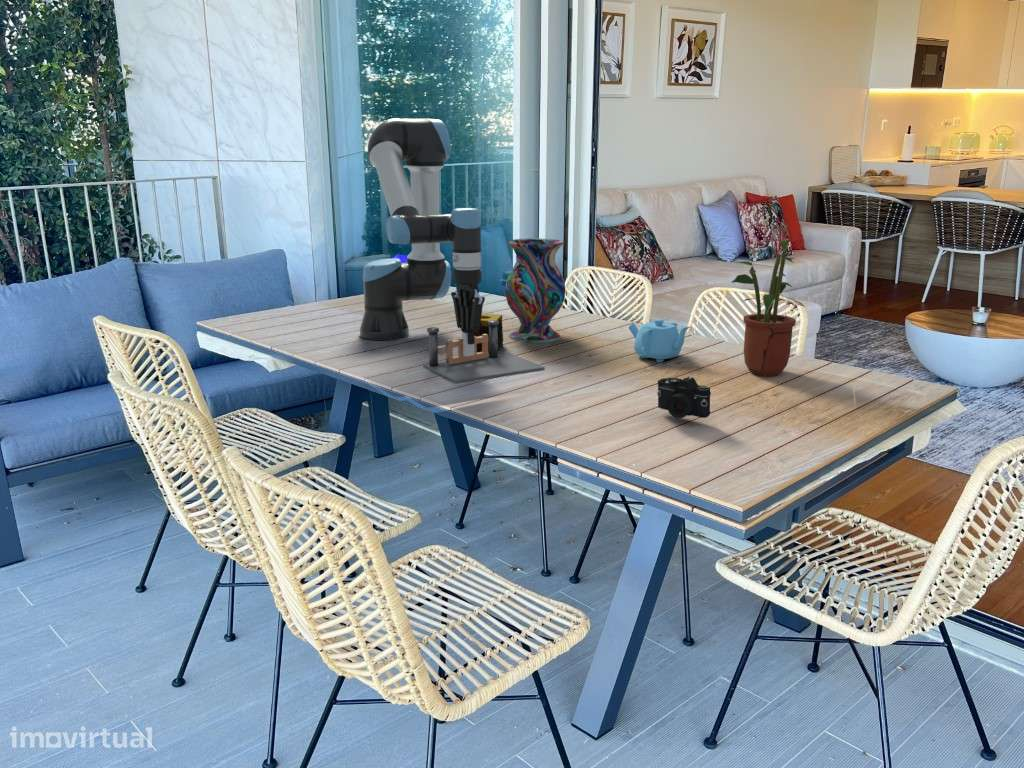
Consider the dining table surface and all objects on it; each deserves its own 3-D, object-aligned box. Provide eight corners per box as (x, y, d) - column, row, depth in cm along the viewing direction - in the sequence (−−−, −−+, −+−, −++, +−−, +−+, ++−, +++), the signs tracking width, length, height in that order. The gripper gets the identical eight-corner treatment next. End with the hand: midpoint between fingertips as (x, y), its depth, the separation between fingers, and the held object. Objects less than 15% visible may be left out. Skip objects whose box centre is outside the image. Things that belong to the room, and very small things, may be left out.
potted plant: (791, 370, 233) (803, 238, 223) (789, 384, 219) (802, 245, 209) (725, 364, 238) (734, 236, 229) (719, 378, 224) (728, 242, 215)
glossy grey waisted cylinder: (485, 358, 244) (485, 321, 241) (495, 357, 245) (495, 319, 243) (491, 361, 241) (490, 323, 238) (501, 359, 243) (501, 321, 240)
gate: (485, 356, 242) (485, 333, 241) (488, 357, 241) (488, 334, 239) (446, 363, 235) (445, 339, 233) (449, 364, 234) (448, 340, 232)
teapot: (680, 353, 251) (682, 314, 248) (688, 365, 238) (691, 324, 235) (627, 353, 251) (628, 314, 248) (632, 364, 238) (634, 324, 235)
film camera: (644, 414, 197) (647, 379, 190) (661, 397, 201) (664, 363, 195) (696, 437, 190) (702, 402, 184) (713, 419, 195) (718, 384, 188)
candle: (496, 355, 248) (496, 321, 245) (462, 353, 250) (461, 319, 247) (504, 347, 258) (504, 314, 255) (471, 345, 260) (470, 312, 257)
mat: (423, 366, 235) (423, 364, 235) (508, 354, 249) (508, 352, 248) (455, 383, 220) (455, 380, 219) (544, 369, 233) (544, 367, 233)
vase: (496, 342, 264) (495, 243, 255) (518, 330, 280) (518, 236, 272) (552, 347, 257) (554, 246, 249) (572, 335, 273) (574, 239, 265)
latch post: (423, 366, 236) (422, 327, 233) (444, 363, 239) (443, 324, 236) (431, 369, 232) (430, 330, 229) (452, 366, 235) (451, 327, 232)
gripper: (441, 266, 231) (444, 353, 237) (468, 271, 221) (470, 361, 227) (465, 264, 236) (467, 349, 242) (492, 269, 226) (493, 357, 232)
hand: (468, 355), depth 234 cm, fingers closed
